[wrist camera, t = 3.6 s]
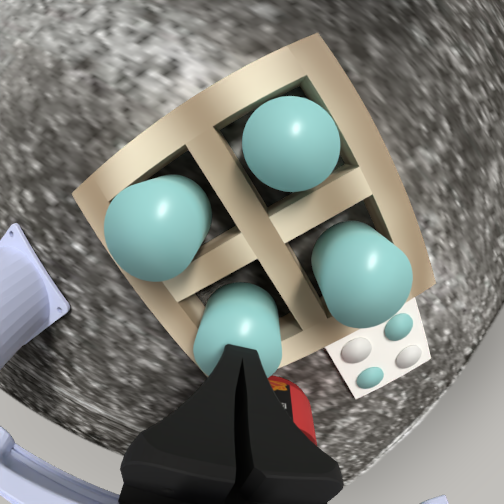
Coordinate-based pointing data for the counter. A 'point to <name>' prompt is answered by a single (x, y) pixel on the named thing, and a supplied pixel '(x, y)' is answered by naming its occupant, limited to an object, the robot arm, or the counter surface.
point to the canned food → (294, 405)
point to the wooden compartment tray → (250, 202)
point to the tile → (381, 351)
